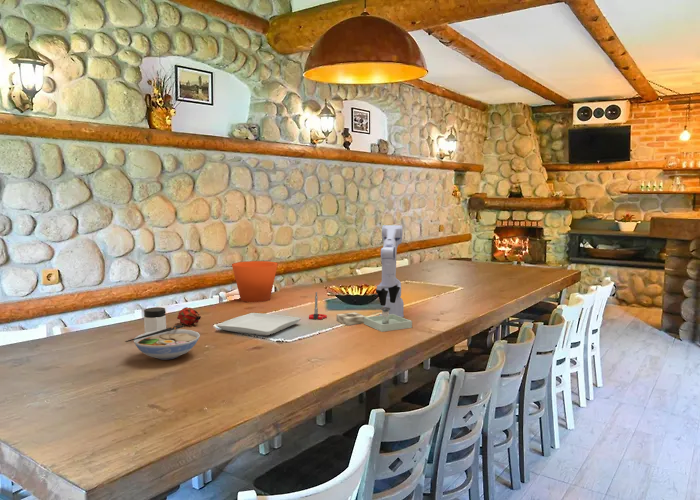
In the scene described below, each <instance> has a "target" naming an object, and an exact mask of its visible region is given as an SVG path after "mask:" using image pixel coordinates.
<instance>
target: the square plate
mask: <svg viewBox="0 0 700 500" xmlns="http://www.w3.org/2000/svg"><path fill="white" fill-rule="evenodd" d="M300 320H302V317H295V316H289V315H281V314H272V313H262V312H258V313H257V312H250V313H247V314H244V315H239V316H236V317H233V318H231V319H227V320H225V321H222V322H221V323H217V324H215V325H216V327H218V328H219V329H220V330H224V331H227V332H232V333H239V332H240V334H246V333H249V335H254V334H256V336H270V334H271V335H273V333H274V334H276V333H278V332H280V330H281V331H282V330H285V329H287V328H289V327H292V326H294V325H296V324H297V323H299V322H300Z"/></svg>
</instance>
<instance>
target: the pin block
mask: <svg viewBox="0 0 700 500" xmlns="http://www.w3.org/2000/svg"><path fill="white" fill-rule="evenodd" d="M364 317H367V316H366V315H363V314H361V313H358V312H356V311H354V312H346V313H337V314H336V321H337V322H339V323H341V324H343V325H345V326H353V325H361V324H364Z"/></svg>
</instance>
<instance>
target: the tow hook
mask: <svg viewBox="0 0 700 500" xmlns="http://www.w3.org/2000/svg"><path fill="white" fill-rule="evenodd" d="M318 299H319V297H318V291H315V297H314V309H313V311H314V313H312V314H309V315H308V319H309V320H316V319H318V320H320V321H323V320H324V319H326V318H327V317H328V315H326V314H324V313H319V307H318V301H319V300H318Z"/></svg>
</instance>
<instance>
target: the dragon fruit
mask: <svg viewBox="0 0 700 500" xmlns="http://www.w3.org/2000/svg"><path fill="white" fill-rule="evenodd" d="M201 318H202V317H201V316H200V313H199V312H198V311H197V310H195V309H194V308H192V307H187V306H186V307H183V308H182V309H181V310H179V311H178V313H177V317H176V319H177V320H179V322H180V325H181V326H182V325H186V326H188V327H193V326H194V325H195V324H198V323H199V322H200V320H201Z"/></svg>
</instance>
